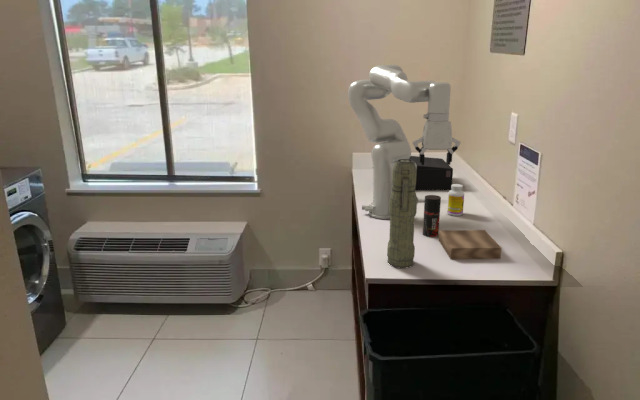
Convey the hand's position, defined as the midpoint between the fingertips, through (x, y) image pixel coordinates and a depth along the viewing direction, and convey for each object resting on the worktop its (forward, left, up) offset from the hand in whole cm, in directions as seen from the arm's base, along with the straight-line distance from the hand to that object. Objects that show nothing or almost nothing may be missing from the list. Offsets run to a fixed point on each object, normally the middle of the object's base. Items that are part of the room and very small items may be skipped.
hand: (435, 164), depth 181 cm
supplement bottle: (+16, +24, -28) cm, 40 cm away
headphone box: (+7, +74, -28) cm, 80 cm away
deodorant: (0, 0, -28) cm, 28 cm away
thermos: (-16, -26, -28) cm, 41 cm away
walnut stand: (+10, -15, -28) cm, 33 cm away
